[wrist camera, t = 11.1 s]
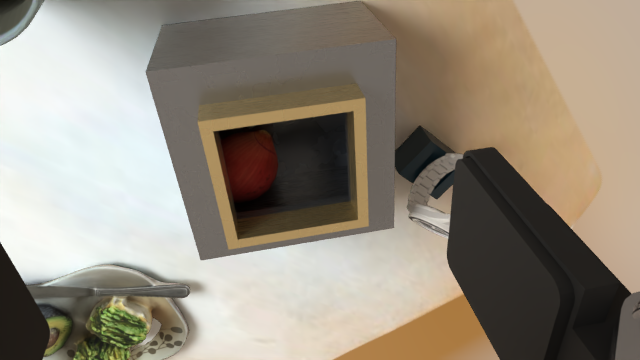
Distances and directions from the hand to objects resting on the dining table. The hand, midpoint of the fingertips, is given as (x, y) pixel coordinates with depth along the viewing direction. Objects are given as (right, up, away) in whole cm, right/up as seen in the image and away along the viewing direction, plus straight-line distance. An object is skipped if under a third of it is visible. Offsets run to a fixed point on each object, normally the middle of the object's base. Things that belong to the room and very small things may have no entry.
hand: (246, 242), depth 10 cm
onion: (-3, +5, +31) cm, 32 cm away
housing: (-2, +8, +33) cm, 35 cm away
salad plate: (-23, -14, +45) cm, 52 cm away
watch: (+12, +4, +39) cm, 41 cm away
